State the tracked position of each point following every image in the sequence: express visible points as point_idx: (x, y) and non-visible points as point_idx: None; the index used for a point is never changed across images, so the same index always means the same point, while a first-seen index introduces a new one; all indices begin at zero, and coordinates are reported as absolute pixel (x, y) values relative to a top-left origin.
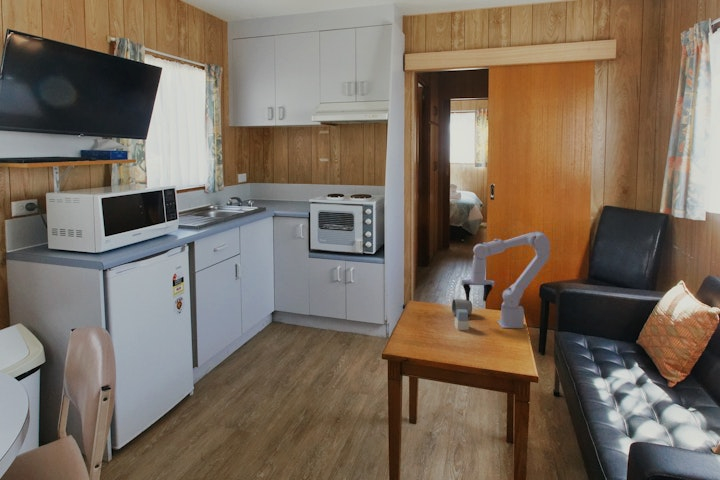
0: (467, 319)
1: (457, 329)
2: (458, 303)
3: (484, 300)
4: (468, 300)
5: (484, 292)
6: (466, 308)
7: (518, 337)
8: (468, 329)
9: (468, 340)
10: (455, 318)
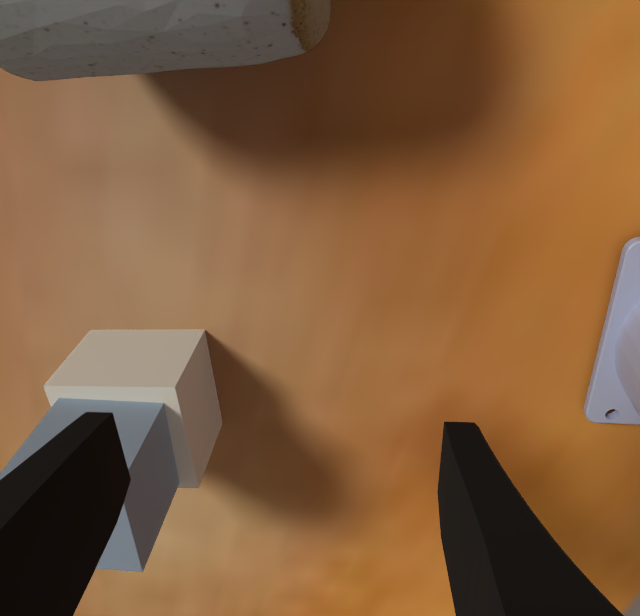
0: (172, 497)
1: None
2: (22, 43)
3: (439, 506)
4: (115, 493)
5: (481, 596)
6: (214, 67)
7: (614, 573)
8: (218, 425)
9: (192, 580)
10: (52, 404)
